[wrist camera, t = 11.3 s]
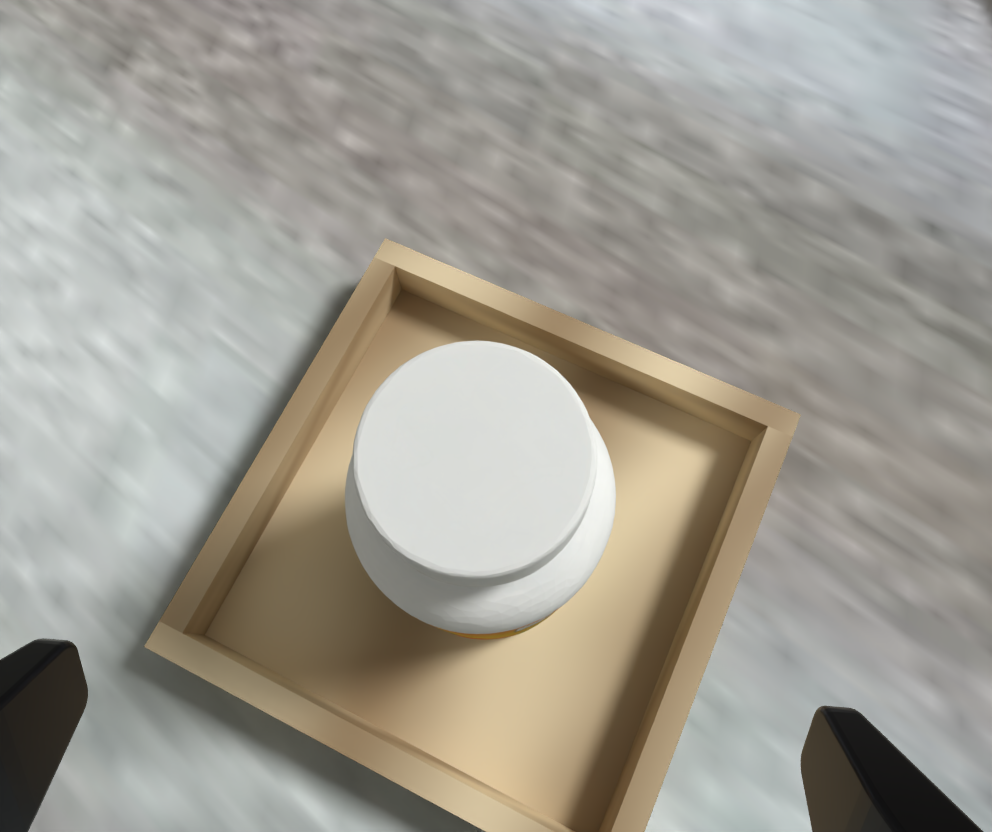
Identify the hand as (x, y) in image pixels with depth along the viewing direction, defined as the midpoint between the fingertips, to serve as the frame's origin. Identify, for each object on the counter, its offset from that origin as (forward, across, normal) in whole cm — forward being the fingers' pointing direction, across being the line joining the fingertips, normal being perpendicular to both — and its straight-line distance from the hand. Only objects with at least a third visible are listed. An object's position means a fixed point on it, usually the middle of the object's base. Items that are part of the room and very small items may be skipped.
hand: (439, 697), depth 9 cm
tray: (+11, 0, +6) cm, 13 cm away
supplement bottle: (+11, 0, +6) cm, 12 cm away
